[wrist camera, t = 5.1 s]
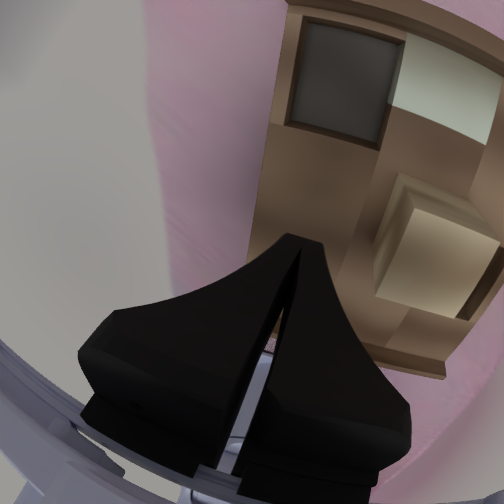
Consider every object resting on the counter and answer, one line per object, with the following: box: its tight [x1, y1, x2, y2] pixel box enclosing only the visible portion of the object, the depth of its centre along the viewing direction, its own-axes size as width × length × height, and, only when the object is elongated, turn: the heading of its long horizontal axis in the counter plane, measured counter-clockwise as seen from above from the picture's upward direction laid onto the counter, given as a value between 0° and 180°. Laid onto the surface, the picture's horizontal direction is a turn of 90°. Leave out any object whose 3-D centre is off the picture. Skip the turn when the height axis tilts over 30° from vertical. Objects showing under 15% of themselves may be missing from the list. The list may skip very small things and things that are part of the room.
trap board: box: [246, 0, 504, 380], centre depth 14 cm, size 22×17×6 cm
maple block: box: [372, 173, 501, 319], centre depth 13 cm, size 4×4×4 cm
